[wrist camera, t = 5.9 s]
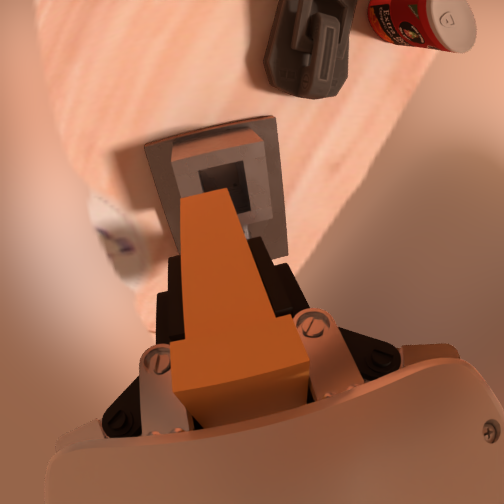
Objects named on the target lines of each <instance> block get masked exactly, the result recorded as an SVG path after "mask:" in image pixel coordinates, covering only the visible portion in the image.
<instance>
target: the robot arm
mask: <svg viewBox="0 0 504 504" xmlns="http://www.w3.org/2000/svg"><path fill="white" fill-rule="evenodd" d="M247 243H248V245H249V248H250V251H251V253H252V256H253V259H254V261H255V264H256V267H257V269H258V272H259V275H260V277H261V280H262V282H263V285H264V288H265V290H266V293H267V296H268V298H269V301H270V304H271V306H272V309H273V312H274V314H275V317H276V318H277V317H281V316H285V315H289V314H291V317H292V319H293V321H294V324H295V326H296V329H297V331H298V333H299V336H300V338H301V340H302V343H303V345H304V347H305V350H306V352H307V354H308V357H309V359H310V367H309V380H308V392H307V403H306V405H303V406H300V407H297V408H293V409H290V410H286V411H283V412H279V413H275V414H272V415H268V416H264V417H260V418H256V419H251V420H247V421H242V422H238V423H233V424H228V425H223V426H218V427H212V428H206V429H204V428H203V427H202V426H201V425H200V424H199V423H198V421H197V420H196V419H195V418H194V417H193V416H192V415H191V414H190V412H189V411H188V410H187V409H186V408H185V407H184V405H183V404H182V403H181V402H180V401H179V399H178V398H177V397H176V396H175V395H174V393H173V391H172V377H171V359H170V342H174V341H179V340H184V339H185V328H184V313H183V296H182V275H181V255H178V256H174V257H170V258H169V259H168V291H165V292H161V293H158V294H157V307H156V345H154V346H151V347H150V348H148V349H147V350H146V351H145V352H144V353H143V354H142V356H141V358H140V363H139V376H138V377H137V378H136V379H135V380H134V381H133V382H132V383H131V385H129V387H128V388H127V389H126V390H125V391H124V392H123V393H122V394H121V395H120V396H119V397H118V398H117V399H116V400H115V401H114V403H113V404H112V405H111V406H110V407H109V408H108V409H107V410H106V412H105V413H104V415H103V418H102V419H100V420H98V419H97V418H96V419H94V420H92V421H90V422H88V423H86V424H84V425H82V426H80V427H78V428H76V429H74V430H72V431H70V432H67V433H65V434H63V435H62V436H60V437H59V438H58V440H57V442H56V446H55V449H56V454H55V455H54V456H53V457H52V458H51V459H50V461H49V463H48V466H47V470H46V477H45V492H44V497H45V504H504V410H503V408H502V406H501V404H500V403H499V401H498V399H497V398H496V396H495V395H494V393H493V391H492V390H491V388H490V387H489V385H488V384H487V382H486V381H485V380H484V378H483V377H482V376H481V375H480V374H479V372H478V371H477V370H476V369H475V368H474V367H473V366H472V365H471V364H469V363H468V362H466V361H464V360H462V359H460V355H459V353H458V350H457V349H456V348H455V347H454V346H452V345H450V344H446V343H437V344H418V345H402V346H401V348H395V347H394V346H393V345H391V344H389V343H387V342H384V341H381V340H378V339H374V338H371V337H368V336H365V335H362V334H359V333H356V332H352V331H349V330H346V329H343V328H340V327H337V325H336V323H335V320H334V319H333V317H332V316H331V315H330V314H329V313H328V312H326V311H325V310H322V309H319V308H310V307H309V305H308V303H307V301H306V299H305V297H304V295H303V293H302V291H301V289H300V287H299V285H298V283H297V281H296V279H295V277H294V275H293V273H292V271H291V269H290V267H289V265H288V264H287V263H283V264H279V265H275V266H274V264H273V262H272V260H271V258H270V255H269V253H268V251H267V249H266V247H265V244H264V242H263V240H262V238H261V236H258V237H254V238H250V239H247Z"/></svg>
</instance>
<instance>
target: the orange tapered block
mask: <svg viewBox="0 0 504 504" xmlns="http://www.w3.org/2000/svg"><path fill="white" fill-rule="evenodd" d="M180 241H181V275H182V296H183V313H184V328H185V339H184V340H179V341H174V342H170V359H171V377H172V391H173V393H174V395H175V396H176V397H177V398H178V399H179V401H180V402H181V403H182V404H183V405H184V407H185V408H186V409H187V410H188V411H189V412H190V414H191V415H192V416H193V417H194V418H195V419H196V420H197V421H198V423H199V424H200V425H201V426H202V427H203V428H204V429H206V428H212V427H218V426H223V425H228V424H233V423H238V422H242V421H247V420H251V419H256V418H260V417H264V416H268V415H272V414H275V413H279V412H283V411H286V410H290V409H293V408H297V407H300V406H303V405H306V403H307V392H308V380H309V367H310V359H309V357H308V354H307V352H306V350H305V347H304V345H303V343H302V340H301V338H300V336H299V333H298V331H297V329H296V326H295V324H294V321H293V319H292V317H291V314H289V315H285V316H281V317H277V318H276V317H275V314H274V312H273V309H272V306H271V304H270V301H269V298H268V296H267V293H266V290H265V288H264V285H263V282H262V280H261V277H260V275H259V272H258V269H257V267H256V264H255V261H254V259H253V256H252V253H251V251H250V248H249V245H248V243H247V240H246V237H245V235H244V232H243V229H242V227H241V224H240V221H239V219H238V216H237V213H236V211H235V208H234V205H233V203H232V200H231V197H230V195H229V192H228V189H227V188H223V189H219V190H214V191H210V192H206V193H201V194H197V195H193V196H189V197H185V198H180Z"/></svg>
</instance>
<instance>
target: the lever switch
mask: <svg viewBox="0 0 504 504" xmlns="http://www.w3.org/2000/svg"><path fill="white" fill-rule="evenodd" d="M144 149H145V152H146V155H147V159H148V162H149V165H150V169H151V172H152V175H153V178H154V181H155V185H156V188H157V191H158V194H159V197H160V200H161V203H162V206H163V209H164V212H165V215H166V218H167V221H168V224H169V227H170V229H171V232H172V235H173V238H174V241H175V243H176V246H177V249H178V252H179V254H180V255H181V241H180V198H185V197H189V196H193V195H197V194H201V193H206V192H210V191H214V190H219V189H223V188H227V189H228V192H229V195H230V197H231V200H232V203H233V205H234V208H235V211H236V213H237V216H238V219H239V221H240V224H241V227H242V229H243V232H244V235H245V237H246V240H247V239H250V238H254V237H258V236H261V238H262V240H263V242H264V244H265V247H266V249H267V251H268V253H269V255H270V258H271V260H272V259H276V258H280V257H284V256H288V242H287V229H286V216H285V205H284V193H283V182H282V172H281V162H280V152H279V142H278V133H277V124H276V117H274V116H266V117H260V118H254V119H248V120H243V121H237V122H232V123H227V124H222V125H218V126H213V127H208V128H204V129H200V130H196V131H192V132H187V133H184V134H180V135H176V136H172V137H168V138H165V139H161V140H158V141H154V142H151V143H148V144H145V146H144Z"/></svg>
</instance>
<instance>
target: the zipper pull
mask: <svg viewBox="0 0 504 504" xmlns="http://www.w3.org/2000/svg"><path fill="white" fill-rule="evenodd" d="M356 4H357V0H279V3H278V7H277V11H276V15H275V19H274V22H273V26H272V30H271V34H270V38H269V42H268V45H267V49H266V53H265V56H264V60H263V63H264V66H265V70H266V73H267V76H268V80H269V83H270V85H272V86H274V87H276V88H278V89H280V90H282V91H284V92H286V93H288V94H290V95H293V96H296V97H301V98H307V99H321V98H326V97H333V96H336V95H337V94H338V92H339V90H340V89H341V87H342V86H343V84H344V82H345V81H346V79H347V77H348V52H349V33H350V29H351V25H352V21H353V16H354V12H355V7H356Z"/></svg>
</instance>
